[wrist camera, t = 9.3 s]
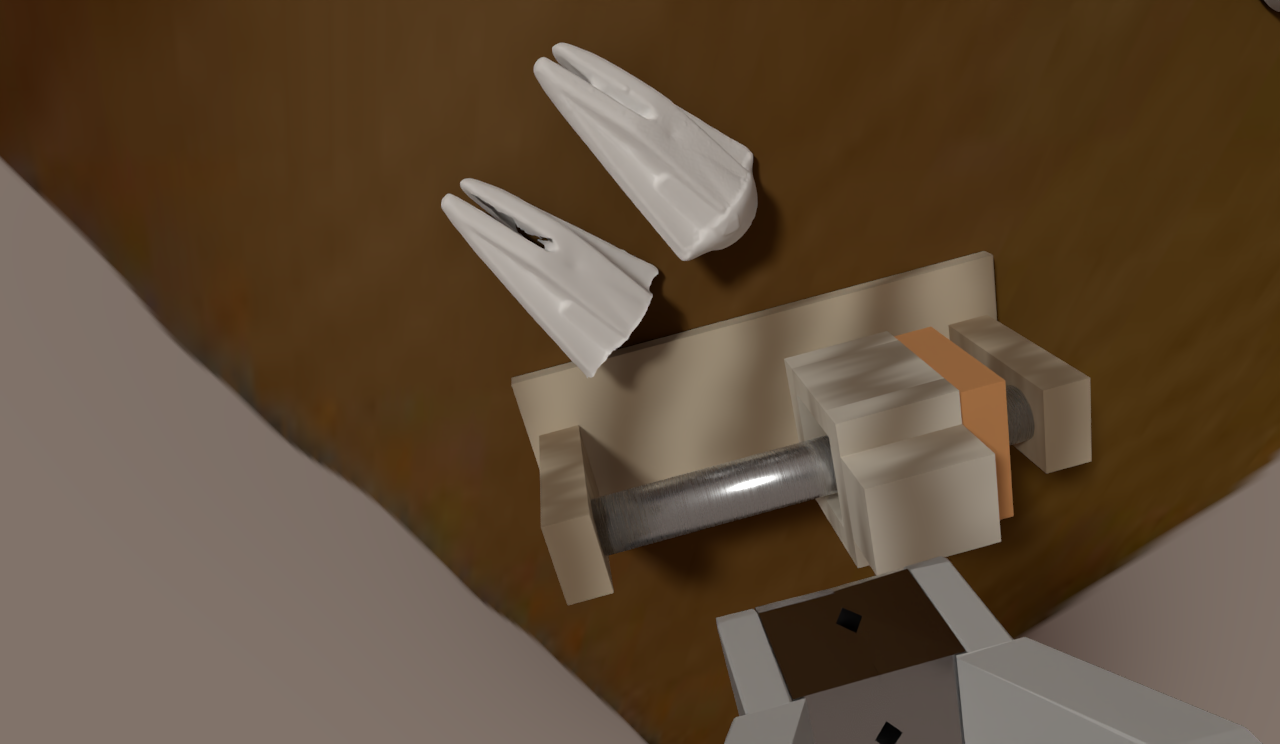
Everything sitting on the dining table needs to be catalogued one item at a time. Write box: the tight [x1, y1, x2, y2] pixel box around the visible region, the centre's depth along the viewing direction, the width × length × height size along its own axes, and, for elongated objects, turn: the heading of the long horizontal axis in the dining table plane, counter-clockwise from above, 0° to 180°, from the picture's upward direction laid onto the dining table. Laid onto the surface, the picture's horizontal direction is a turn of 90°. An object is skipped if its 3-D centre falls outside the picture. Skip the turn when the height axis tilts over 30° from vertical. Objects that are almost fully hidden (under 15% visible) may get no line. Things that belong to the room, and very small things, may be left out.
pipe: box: [591, 385, 1035, 556], centre depth 36 cm, size 19×3×3 cm, turn 103°
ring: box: [894, 327, 1014, 520], centre depth 36 cm, size 2×6×6 cm, turn 13°
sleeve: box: [784, 331, 1001, 575], centre depth 35 cm, size 5×7×10 cm
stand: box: [512, 251, 1091, 605], centre depth 38 cm, size 24×10×9 cm, turn 103°
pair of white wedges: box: [441, 43, 758, 378], centre depth 35 cm, size 12×4×11 cm
